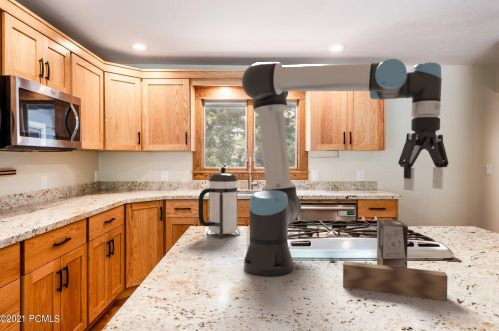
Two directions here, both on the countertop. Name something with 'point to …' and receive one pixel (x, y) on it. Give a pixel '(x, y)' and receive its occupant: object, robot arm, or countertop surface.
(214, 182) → the coffee press
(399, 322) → the countertop surface
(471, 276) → the countertop surface
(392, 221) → the coffee box
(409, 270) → the board
